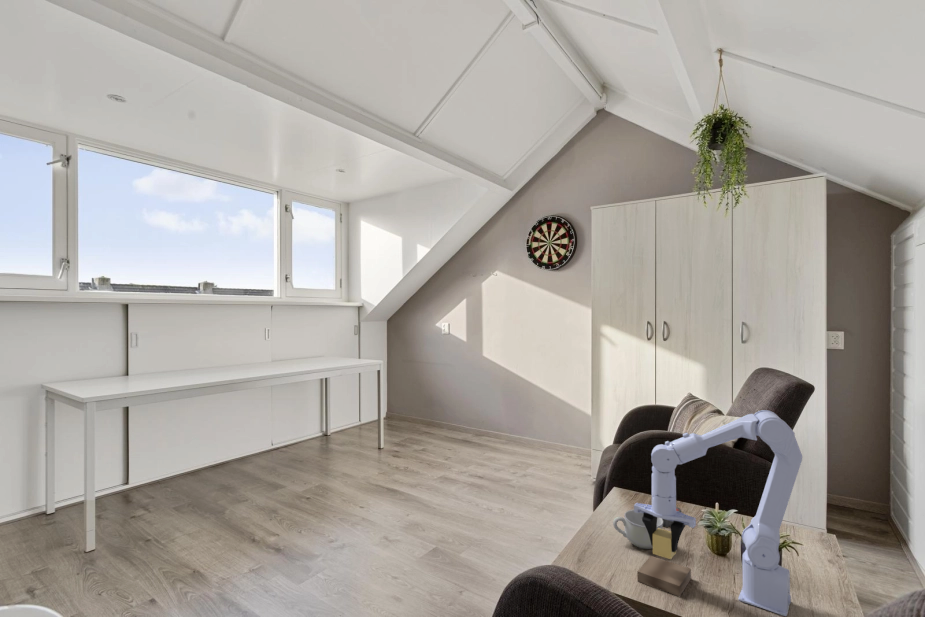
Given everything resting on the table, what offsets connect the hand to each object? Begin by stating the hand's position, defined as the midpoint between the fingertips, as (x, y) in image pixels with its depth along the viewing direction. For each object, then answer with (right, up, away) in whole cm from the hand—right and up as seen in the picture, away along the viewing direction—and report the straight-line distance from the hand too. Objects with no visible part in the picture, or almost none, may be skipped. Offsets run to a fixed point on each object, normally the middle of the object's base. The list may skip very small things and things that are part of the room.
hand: (664, 547), depth 119 cm
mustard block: (0, -2, 0) cm, 2 cm away
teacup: (+1, -9, +19) cm, 21 cm away
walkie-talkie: (+13, -9, +34) cm, 38 cm away
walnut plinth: (0, -8, 0) cm, 8 cm away
